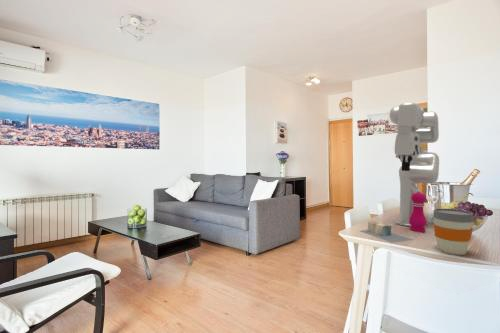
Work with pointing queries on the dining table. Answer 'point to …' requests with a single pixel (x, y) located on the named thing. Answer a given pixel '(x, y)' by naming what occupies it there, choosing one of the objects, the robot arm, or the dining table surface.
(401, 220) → the robot arm
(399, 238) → the slate mat
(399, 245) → the dining table surface
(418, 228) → the pepper mill
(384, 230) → the beech block
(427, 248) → the dining table surface
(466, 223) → the reusable coffee cup
